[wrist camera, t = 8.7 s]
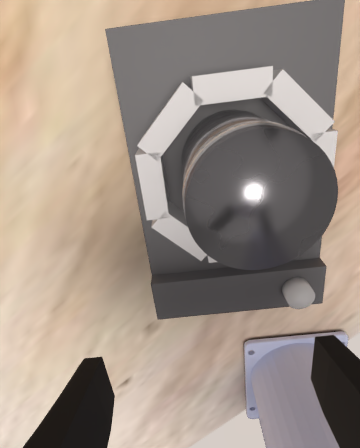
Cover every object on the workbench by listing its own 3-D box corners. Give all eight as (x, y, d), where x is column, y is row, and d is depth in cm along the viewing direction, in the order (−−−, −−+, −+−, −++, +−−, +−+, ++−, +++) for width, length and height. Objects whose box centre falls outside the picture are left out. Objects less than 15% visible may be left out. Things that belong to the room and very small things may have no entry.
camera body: (291, 258, 21) (328, 316, 16) (161, 272, 21) (157, 333, 16) (303, 16, 15) (370, -17, 10) (122, 41, 15) (95, 21, 10)
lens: (287, 108, 13) (358, 127, 8) (271, 207, 15) (320, 271, 10) (181, 107, 13) (184, 124, 8) (179, 206, 15) (181, 271, 10)
